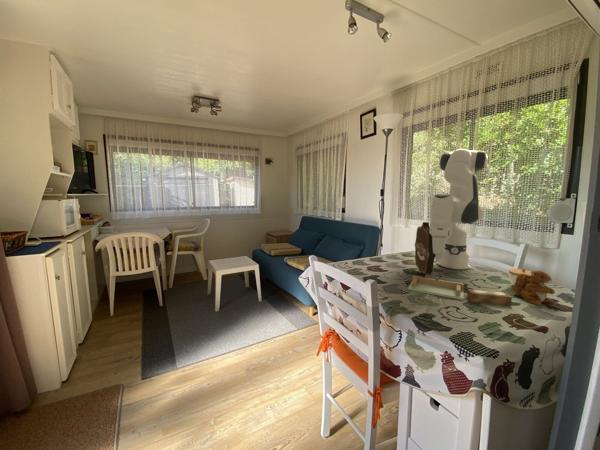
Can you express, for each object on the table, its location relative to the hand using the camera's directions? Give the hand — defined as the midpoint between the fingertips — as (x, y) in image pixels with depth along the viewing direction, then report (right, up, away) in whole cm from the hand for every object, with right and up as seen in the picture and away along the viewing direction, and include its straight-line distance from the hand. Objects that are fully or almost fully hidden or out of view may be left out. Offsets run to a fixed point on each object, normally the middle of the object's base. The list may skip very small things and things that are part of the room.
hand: (438, 260), depth 114 cm
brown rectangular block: (+17, -17, -8) cm, 25 cm away
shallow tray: (0, -15, +3) cm, 15 cm away
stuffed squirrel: (+37, -16, -5) cm, 41 cm away
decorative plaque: (+5, -12, +25) cm, 29 cm away
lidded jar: (+45, -15, +8) cm, 48 cm away
